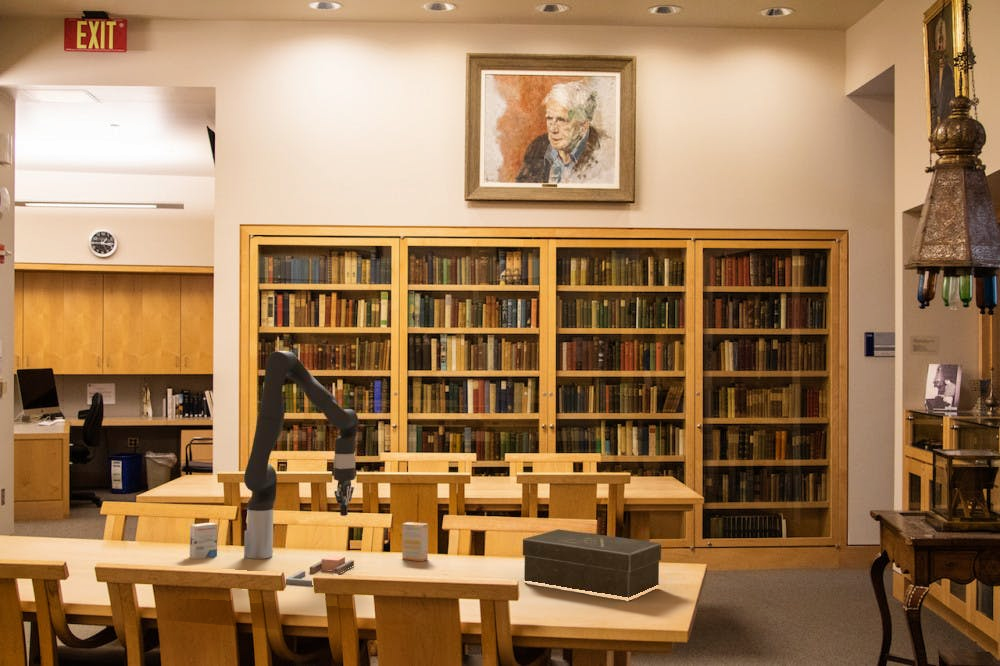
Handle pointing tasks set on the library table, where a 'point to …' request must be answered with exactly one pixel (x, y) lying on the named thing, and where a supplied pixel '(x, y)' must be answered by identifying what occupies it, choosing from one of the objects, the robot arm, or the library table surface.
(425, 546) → the supplement box
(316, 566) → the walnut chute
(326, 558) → the terracotta block
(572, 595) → the library table surface
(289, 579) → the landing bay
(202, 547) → the ink box
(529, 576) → the box
